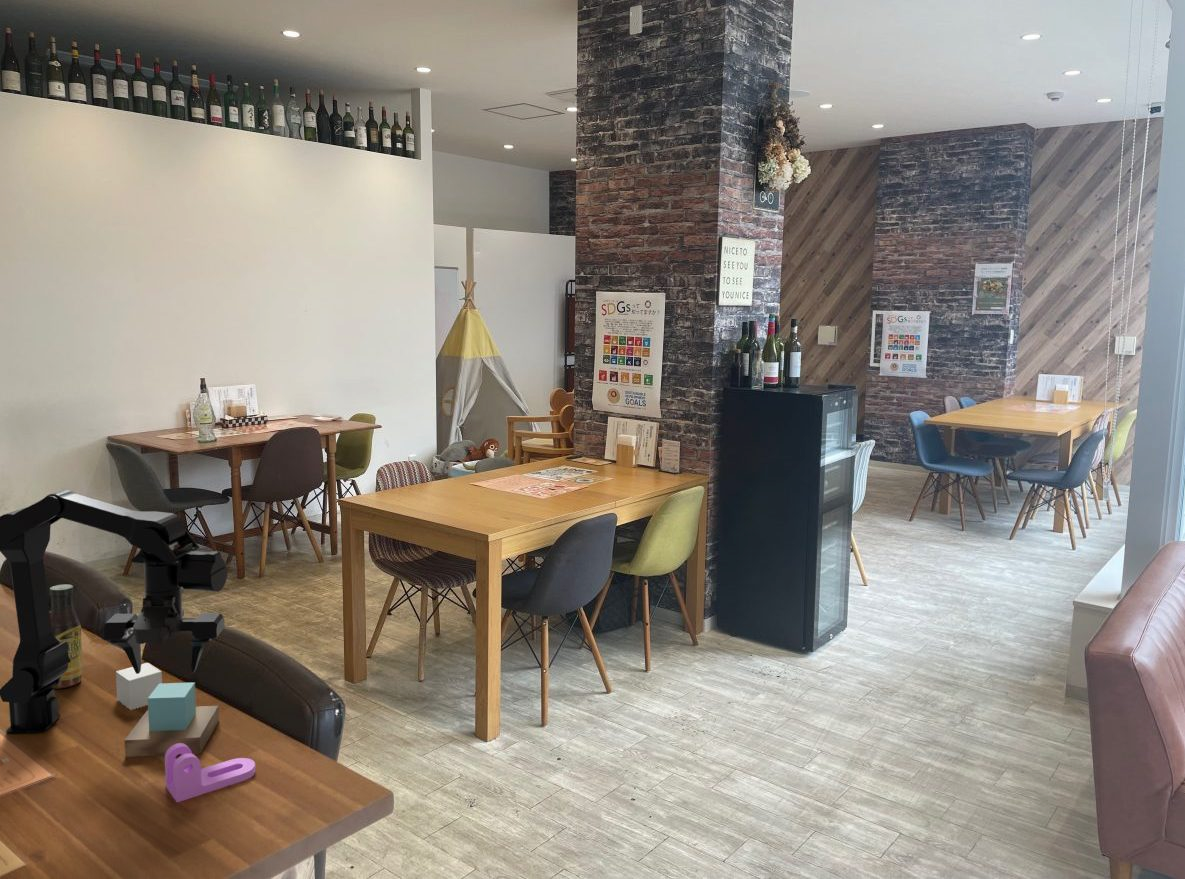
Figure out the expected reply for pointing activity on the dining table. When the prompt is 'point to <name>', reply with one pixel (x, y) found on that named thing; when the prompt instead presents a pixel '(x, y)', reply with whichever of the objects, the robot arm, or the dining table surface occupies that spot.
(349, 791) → the dining table surface
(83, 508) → the robot arm
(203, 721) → the walnut stand
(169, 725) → the teal cube
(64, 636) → the sauce bottle
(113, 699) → the dining table surface
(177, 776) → the bracket
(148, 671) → the white cube
